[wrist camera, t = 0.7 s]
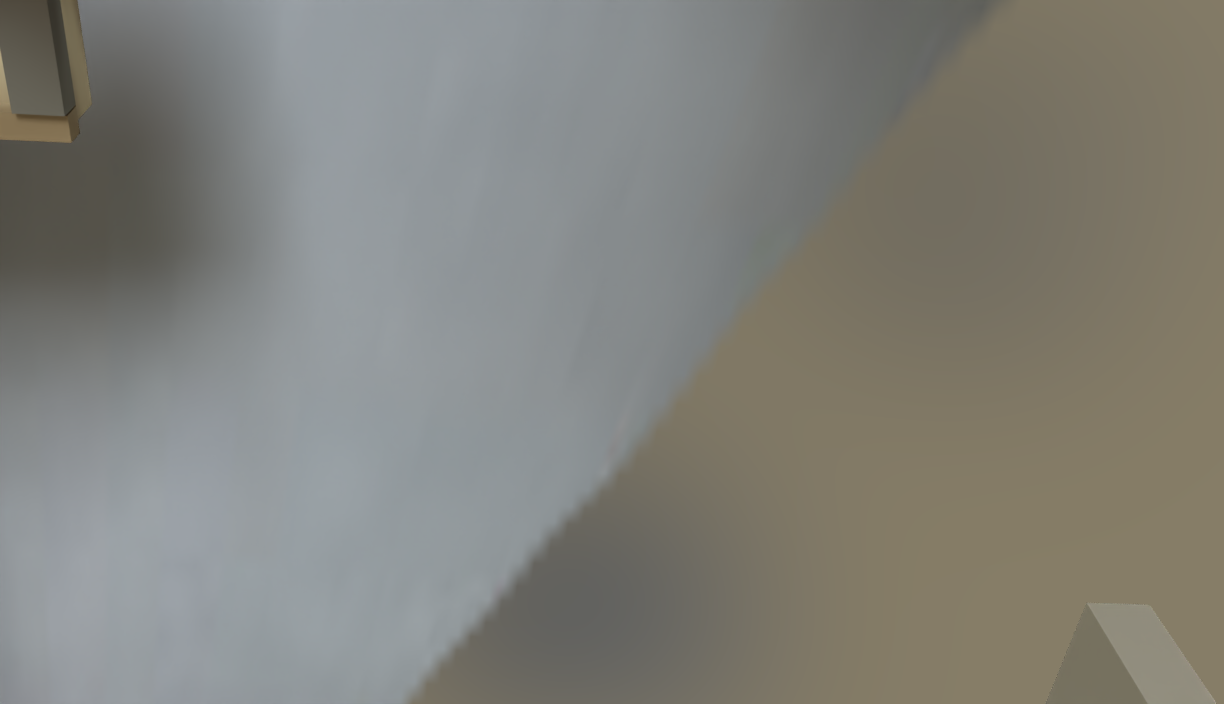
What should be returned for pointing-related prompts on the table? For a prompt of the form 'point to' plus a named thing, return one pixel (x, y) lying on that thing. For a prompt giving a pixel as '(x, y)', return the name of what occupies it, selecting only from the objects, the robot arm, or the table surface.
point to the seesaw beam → (42, 71)
